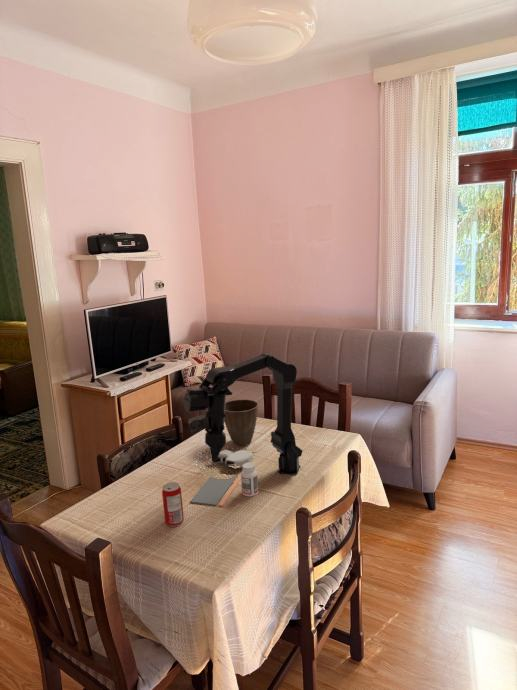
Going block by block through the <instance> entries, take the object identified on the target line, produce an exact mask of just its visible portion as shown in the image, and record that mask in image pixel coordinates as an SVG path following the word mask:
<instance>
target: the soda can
mask: <svg viewBox="0 0 517 690" xmlns="http://www.w3.org/2000/svg"><path fill="white" fill-rule="evenodd" d="M161 494H162V503H163V515H164V523H165V524H166V526H168V527H178V526H180V525H182V524H183V523H184V519H185V518H184V517H185V516H184V507H183V506H184V505H183V499H182V498H183V497H182V488H181V486H180V483H179V482H176V481H172V482H167V483H165V484H163V486H162V491H161Z"/></svg>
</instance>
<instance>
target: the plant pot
mask: <svg viewBox="0 0 517 690" xmlns="http://www.w3.org/2000/svg"><path fill="white" fill-rule="evenodd" d="M258 409H259V403H258V402H257V401H255V400H252V399H235V400H230V401H226V402H225V418H224V426H225V427H226V431H227V433H228V436H229V437H230V439H231V441H232V444H233V445H234V446H237V447H239V446H240V447H241V446H242V447H244V446H247V445H250V444H251V442H252V440H253V438H254V434H255V431H256V430H255V429H256V424H257V421H258V420H257V418H258V411H259V410H258Z"/></svg>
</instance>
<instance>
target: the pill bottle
mask: <svg viewBox="0 0 517 690" xmlns="http://www.w3.org/2000/svg"><path fill="white" fill-rule="evenodd" d="M255 466H256V465H255V463H253V462H250V463H245V464H243V467H242V471H241V473H240V475H241V481H240V482H241V493H242V495H244V496H245V497H255V496H257V495H258V494H259V479H258V471H257V470H256V467H255Z"/></svg>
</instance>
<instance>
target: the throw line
mask: <svg viewBox="0 0 517 690" xmlns="http://www.w3.org/2000/svg"><path fill="white" fill-rule="evenodd" d="M240 480H241V474H238V476H237V478H236V479H235V480H234V482H233V483H232V485H231V486H230V487H229V489H228V490H227V492H226V493H225V494H224V496H223V497H222V499H221V500H220V502H219V503H218V507H222V508H223V507H224V506H225V503H226V502H227V501H228V499H229V498H230V497H231V495H232V494H233V492H234V491H235V489H236V488H237V487H238V485H239V484H240V482H241V481H240Z"/></svg>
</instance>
